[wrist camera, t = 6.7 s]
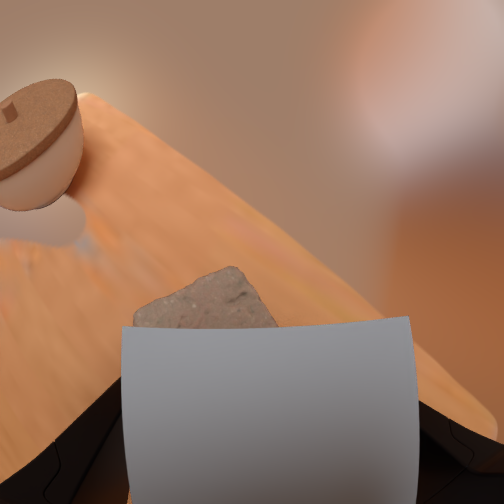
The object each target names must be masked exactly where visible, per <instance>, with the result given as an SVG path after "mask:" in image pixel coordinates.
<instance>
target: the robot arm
mask: <svg viewBox="0 0 504 504" xmlns="http://www.w3.org/2000/svg"><path fill="white" fill-rule="evenodd" d="M418 403H419V471H418V485H417V496H416V504H504V444H501V443H498V442H496V441H494V440H491V439H489V438H487V437H484V436H482V435H480V434H478V433H475V432H473V431H471V430H469V429H467V428H465V427H463V426H462V425H460V424H458V423H456V422H454V421H453V420H451V419H448V417H446V416H444V415H443V414H441V413H439V412H438V411H436V410H434V409H432V408H431V407H429V406H428V405H426V404H424V403H423V402H421V401H419V400H418ZM129 487H130V486H129V479H128V472H127V464H126V455H125V445H124V433H123V418H122V393H121V377H120V378H119V379H118V380H116V381H115V382H114V383H113V384H112V385H111V386H110V387H109V388H108V389H107V390H106V391H105V392H104V393H103V394H102V395H101V396H100V397H99V398H98V399H97V400H96V401H95V402H94V403H93V404H92V405H91V406H89V407H88V408H87V409H86V410H85V411H84V412H83V413H82V414H81V415H80V416H79V417H78V418H77V419H76V420H75V421H74V422H73V423H72V424H71V425H70V426H69V427H68V428H67V429H66V430H65V431H64V432H63V433H61V434H60V435H59V436H58V437H57V438H56V439H55V442H52V443H51V444H50V445H49V446H48V447H47V448H46V449H45V450H44V451H42V452H41V453H40V454H39V455H38V456H37V457H36V458H35V459H33V460H32V461H31V462H30V463H28V464H27V465H26V466H24V467H23V468H22V469H20V470H19V471H18V472H16V473H15V474H13V475H12V476H11V477H9V478H8V479H6V480H5V481H4V482H2V483H1V484H0V504H127V500H128V493H129Z"/></svg>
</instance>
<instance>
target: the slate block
mask: <svg viewBox="0 0 504 504" xmlns="http://www.w3.org/2000/svg"><path fill="white" fill-rule="evenodd" d="M121 393H122V418H123V433H124V445H125V455H126V464H127V472H128V479H129V486H130V493H131V498H132V504H416V496H417V485H418V471H419V403H418V387H417V375H416V365H415V356H414V348H413V340H412V333H411V327H410V321H409V316H403V317H395V318H387V319H379V320H370V321H360V322H350V323H339V324H327V325H313V326H297V327H278V328H249V329H174V328H146V327H127V326H122V351H121Z"/></svg>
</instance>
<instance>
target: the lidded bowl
mask: <svg viewBox="0 0 504 504" xmlns="http://www.w3.org/2000/svg"><path fill="white" fill-rule="evenodd" d="M83 143H84V135H83V125H82V119H81V114H80V110H79V107H78V101H77V94H76V90H75V88H74V86H73V85H72V84H71V83H70V82H68V81H66V80H62V79H49V80H44V81H40V82H37V83H34V84H31V85H29V86H27V87H24V88H23V89H21V90H19V91H17V92H15V93H14V94H12V95H11V96H9V97H8V98H6V99H5V100H3V101H2V102H1V103H0V206H1V207H3V208H5V209H8V210H12V211H28V210H33V209H40V208H44V207H46V206H48V205H50V204H52V203H54V202H55V201H56V200H57V199H59V198H60V197H61V196H62V195H63V194H64V193H65V191H66V190H67V189H68V187H69V186H70V184H71V182H72V179H73V177H74V175H75V173H76V171H77V169H78V166H79V164H80V161H81V157H82V153H83Z"/></svg>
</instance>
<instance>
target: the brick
mask: <svg viewBox="0 0 504 504" xmlns="http://www.w3.org/2000/svg"><path fill="white" fill-rule="evenodd" d="M133 316H134V320H133V326H134V327H146V328H174V329H249V328H278V325H277V323H276V322H275V320H274V319H273V317H272V316H271V314H270V313H269V311H268V309H267V308H266V306H265V305H264V303H263V302H262V301H261V299H260V297H259V295H258V293H257V292H256V290H255V289H254V287H253V286H252V285H251V284H250V283H249V282H248V281H247V279H246V277H245V275H244V273H243V272H241V271H240V270H239V269H238V267H233V266H228V267H226V268H224V269H221V270H219V271H217V272H213V273H210V274H209V275H207V276H203V277H200V278H198V279H197V280H196V281H195V282H194V283H193V284H190V285H188V286H186V287H185V288H183V289H181V290H178V291H177V292H175V293H173V294H171V295H169V296H166V297H163V298H160V299H156V300H154V301H153V302H151V303H149V304H147V305H145V306H143V307H141V308H139V309H138V310H137V311H136V312H135V313H134V314H133Z"/></svg>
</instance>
